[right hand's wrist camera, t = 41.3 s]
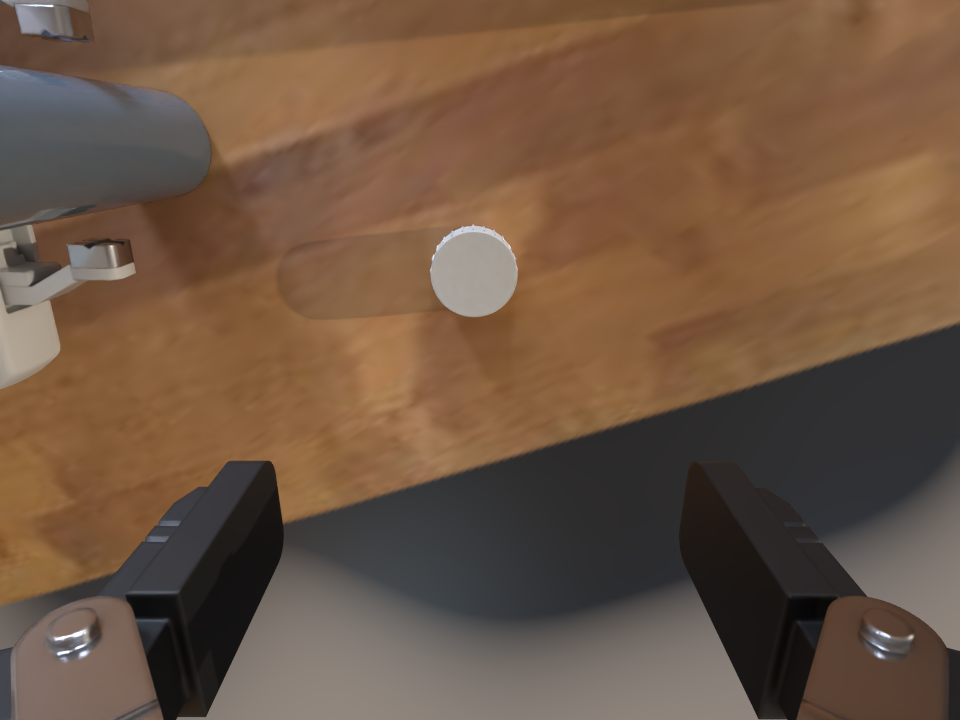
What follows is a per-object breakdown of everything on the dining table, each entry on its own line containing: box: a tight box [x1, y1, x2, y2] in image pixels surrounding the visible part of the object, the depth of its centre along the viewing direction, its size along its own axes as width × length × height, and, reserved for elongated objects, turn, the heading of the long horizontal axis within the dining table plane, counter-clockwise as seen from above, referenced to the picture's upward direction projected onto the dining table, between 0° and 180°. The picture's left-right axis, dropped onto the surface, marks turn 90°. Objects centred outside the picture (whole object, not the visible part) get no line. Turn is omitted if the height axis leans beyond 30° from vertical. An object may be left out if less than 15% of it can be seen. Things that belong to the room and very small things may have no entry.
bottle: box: [0, 65, 211, 231], centre depth 19 cm, size 5×5×21 cm
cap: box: [430, 225, 518, 317], centre depth 30 cm, size 4×4×2 cm
